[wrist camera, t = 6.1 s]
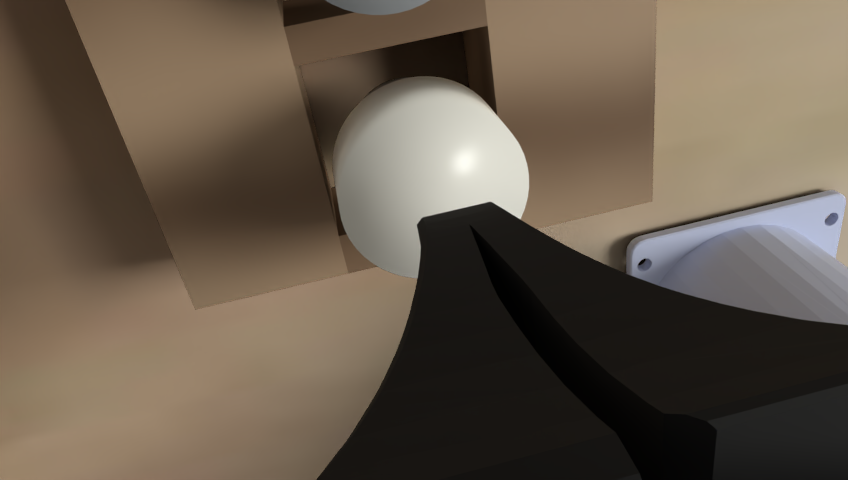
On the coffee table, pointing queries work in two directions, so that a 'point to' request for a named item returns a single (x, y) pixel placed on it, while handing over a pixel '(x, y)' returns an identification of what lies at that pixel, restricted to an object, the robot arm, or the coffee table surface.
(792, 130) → the coffee table surface
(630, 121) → the wooden tray
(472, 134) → the white ball
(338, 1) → the blue-grey ball
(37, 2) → the coffee table surface
